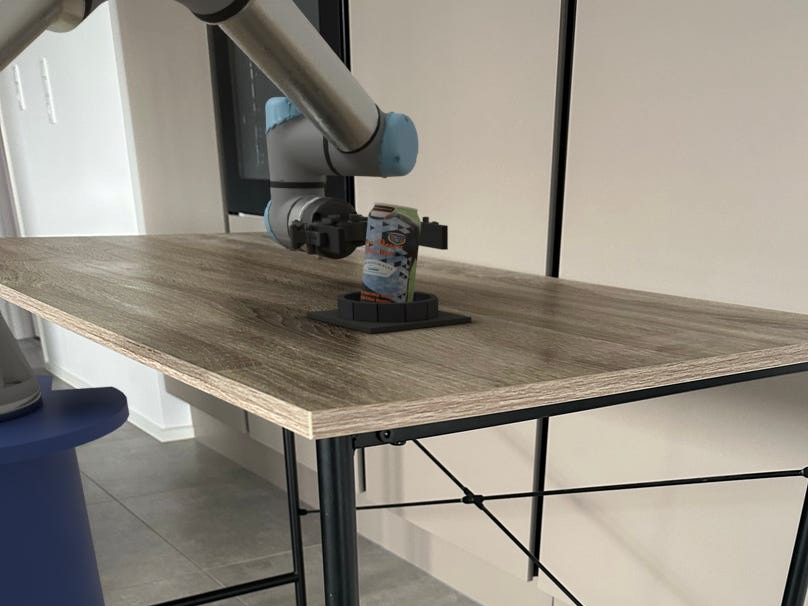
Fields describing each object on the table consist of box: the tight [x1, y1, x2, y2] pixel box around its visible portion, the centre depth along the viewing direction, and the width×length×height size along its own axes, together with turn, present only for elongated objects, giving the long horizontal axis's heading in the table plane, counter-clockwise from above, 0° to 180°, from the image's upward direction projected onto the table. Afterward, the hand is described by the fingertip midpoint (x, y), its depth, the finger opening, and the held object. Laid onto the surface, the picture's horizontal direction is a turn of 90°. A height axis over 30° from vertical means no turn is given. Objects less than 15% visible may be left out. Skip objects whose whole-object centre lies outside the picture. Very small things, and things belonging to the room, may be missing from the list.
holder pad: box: [306, 290, 472, 334], centre depth 110 cm, size 14×14×3 cm
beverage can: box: [360, 201, 422, 303], centre depth 108 cm, size 6×7×12 cm
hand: (395, 239), depth 111 cm, fingers open, 13 cm apart
